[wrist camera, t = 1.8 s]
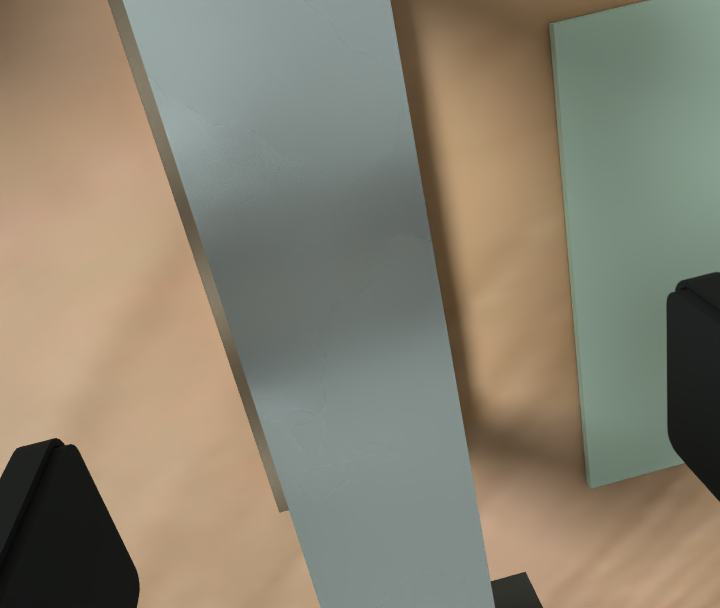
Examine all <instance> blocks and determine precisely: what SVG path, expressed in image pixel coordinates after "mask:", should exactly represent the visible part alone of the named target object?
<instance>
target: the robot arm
mask: <svg viewBox="0 0 720 608" xmlns="http://www.w3.org/2000/svg"><path fill="white" fill-rule="evenodd" d="M666 319H667V431H668V437H669V440H670V443H671V445H672V447H673V449H674V451H675V452H676V453H677V455H678V456H679V457H680V458H681V459H682V460H683V461H684V462H685V464H686V465H687V466H688V467H689V468H690V469H691V470H692V471H693V472H694V474H695V475H696V476H697V477H698V478H699V479H700V480H701V481H702V483H703V484H704V485H705V486H706V487H707V488H708V489H709V490H710V491H711V493H712V494H713V495H714V496H715V497H716V498H717V499H718V500H719V501H720V273H719V272H713V273H709V274H705V275H701V276H697V277H693V278H689V279H685V280H681V281H680V282H679V283H678V284H677V286H676V288H675V292H671V293H670V294H669V295H668V297H667V303H666ZM139 591H140V587H139V577H138V573H137V570H136V568H135V566H134V564H133V562H132V559H131V557H130V555H129V553H128V551H127V549H126V547H125V545H124V543H123V541H122V539H121V537H120V535H119V533H118V531H117V529H116V526H115V524H114V522H113V520H112V518H111V516H110V514H109V512H108V510H107V508H106V506H105V504H104V502H103V500H102V498H101V495H100V493H99V491H98V489H97V487H96V485H95V483H94V481H93V479H92V477H91V475H90V473H89V471H88V469H87V467H86V465H85V462H84V460H83V458H82V456H81V454H80V452H79V451H78V449H77V447H76V446H74V445H72V444H69V445H64V443H63V442H62V441H61V440H60V439H57V438H54V439H50V440H46V441H42V442H38V443H34V444H31V445H27V446H23V447H19V448H17V449H16V450H15V451H14V453H13V454H12V456H11V458H10V460H9V462H8V464H7V466H6V468H5V470H4V472H3V474H2V476H1V478H0V608H137V604H138V598H139Z"/></svg>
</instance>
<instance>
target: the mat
mask: <svg viewBox="0 0 720 608" xmlns="http://www.w3.org/2000/svg"><path fill="white" fill-rule="evenodd" d="M549 31H550V43H551V55H552V67H553V80H554V92H555V104H556V116H557V128H558V140H559V152H560V164H561V177H562V189H563V201H564V213H565V225H566V237H567V249H568V262H569V274H570V286H571V298H572V310H573V322H574V334H575V346H576V359H577V371H578V383H579V395H580V407H581V419H582V431H583V444H584V456H585V468H586V480H587V484H588V486H589V487H590V489H592V488H596V487H600V486H603V485H607V484H611V483H614V482H618V481H621V480H625V479H629V478H632V477H636V476H640V475H643V474H647V473H651V472H654V471H658V470H661V469H665V468H669V467H672V466H676V465H680V464H683V463H685V462H684V461H683V460H682V459H681V458H680V457H679V456H678V455H677V453H676V452H675V451H674V449H673V447H672V445H671V443H670V440H669V437H668V431H667V319H666V303H667V297H668V295H669V294H670V293H671V292H675V288H676V286H677V284H678V283H679V282H680V281H681V280H685V279H689V278H693V277H697V276H701V275H705V274H709V273H713V272H719V273H720V0H646V1H642V2H638V3H634V4H629V5H625V6H621V7H617V8H613V9H608V10H604V11H600V12H596V13H592V14H587V15H583V16H579V17H575V18H571V19H566V20H562V21H558V22H554V23H549Z"/></svg>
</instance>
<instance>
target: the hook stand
mask: <svg viewBox="0 0 720 608" xmlns="http://www.w3.org/2000/svg"><path fill="white" fill-rule="evenodd" d="M108 2H109V5H110V8H111V11H112V14H113V17H114V20H115V23H116V26H117V29H118V32H119V35H120V38H121V41H122V44H123V47H124V50H125V53H126V56H127V59H128V62H129V65H130V68H131V71H132V74H133V77H134V80H135V83H136V86H137V89H138V92H139V95H140V98H141V101H142V104H143V107H144V110H145V113H146V116H147V119H148V122H149V125H150V127H151V130H152V133H153V136H154V139H155V142H156V145H157V148H158V151H159V154H160V157H161V160H162V163H163V166H164V169H165V172H166V175H167V178H168V181H169V184H170V187H171V190H172V193H173V196H174V199H175V202H176V205H177V208H178V211H179V214H180V217H181V220H182V223H183V226H184V229H185V232H186V235H187V238H188V241H189V244H190V247H191V250H192V253H193V256H194V259H195V262H196V265H197V268H198V271H199V274H200V277H201V280H202V283H203V286H204V289H205V292H206V295H207V298H208V301H209V304H210V307H211V310H212V313H213V316H214V319H215V322H216V325H217V328H218V331H219V334H220V337H221V339H222V342H223V345H224V348H225V351H226V354H227V357H228V360H229V363H230V366H231V369H232V372H233V375H234V378H235V381H236V384H237V387H238V390H239V393H240V396H241V399H242V402H243V405H244V408H245V411H246V414H247V417H248V420H249V423H250V426H251V429H252V432H253V435H254V438H255V441H256V444H257V447H258V450H259V453H260V456H261V459H262V462H263V465H264V468H265V471H266V474H267V477H268V480H269V483H270V486H271V489H272V492H273V495H274V498H275V501H276V504H277V507H278V510H279V513H280V512H283V511H287V510H289V508H288V505H287V502H286V499H285V496H284V493H283V490H282V487H281V484H280V481H279V478H278V475H277V472H276V469H275V466H274V462H273V459H272V456H271V453H270V450H269V447H268V444H267V441H266V438H265V435H264V432H263V429H262V426H261V423H260V420H259V416H258V413H257V410H256V407H255V404H254V401H253V398H252V395H251V392H250V389H249V386H248V383H247V380H246V377H245V374H244V371H243V367H242V364H241V361H240V358H239V355H238V352H237V349H236V346H235V343H234V340H233V337H232V334H231V331H230V328H229V325H228V322H227V318H226V315H225V312H224V309H223V306H222V303H221V300H220V297H219V294H218V291H217V288H216V285H215V282H214V279H213V276H212V273H211V269H210V266H209V263H208V260H207V257H206V254H205V251H204V248H203V245H202V242H201V239H200V236H199V233H198V230H197V227H196V223H195V220H194V217H193V214H192V211H191V208H190V205H189V202H188V199H187V196H186V193H185V190H184V187H183V184H182V181H181V178H180V174H179V171H178V168H177V165H176V162H175V159H174V156H173V153H172V150H171V147H170V144H169V141H168V138H167V135H166V132H165V129H164V125H163V122H162V119H161V116H160V113H159V110H158V107H157V104H156V101H155V98H154V95H153V92H152V89H151V86H150V83H149V80H148V76H147V73H146V70H145V67H144V64H143V61H142V58H141V55H140V52H139V49H138V46H137V43H136V40H135V37H134V34H133V31H132V27H131V24H130V21H129V18H128V15H127V12H126V9H125V6H124V3H123V0H108ZM491 587H492V593H493V599H494V604H495V608H543V607H542V605H541V603H540V601H539V599H538V597H537V595H536V592H535V590H534V588H533V586H532V584H531V582H530V580H529V578H528V576H527V574H526V572H523V573H519V574H516V575H512V576H509V577H505V578H502V579H498V580H494V581H491Z"/></svg>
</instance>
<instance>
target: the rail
mask: <svg viewBox="0 0 720 608" xmlns="http://www.w3.org/2000/svg"><path fill="white" fill-rule="evenodd" d="M123 3H124V6H125V9H126V12H127V15H128V18H129V21H130V24H131V27H132V31H133V34H134V37H135V40H136V43H137V46H138V49H139V52H140V55H141V58H142V61H143V64H144V67H145V70H146V73H147V76H148V80H149V83H150V86H151V89H152V92H153V95H154V98H155V101H156V104H157V107H158V110H159V113H160V116H161V119H162V122H163V125H164V129H165V132H166V135H167V138H168V141H169V144H170V147H171V150H172V153H173V156H174V159H175V162H176V165H177V168H178V171H179V174H180V178H181V181H182V184H183V187H184V190H185V193H186V196H187V199H188V202H189V205H190V208H191V211H192V214H193V217H194V220H195V223H196V227H197V230H198V233H199V236H200V239H201V242H202V245H203V248H204V251H205V254H206V257H207V260H208V263H209V266H210V269H211V273H212V276H213V279H214V282H215V285H216V288H217V291H218V294H219V297H220V300H221V303H222V306H223V309H224V312H225V315H226V318H227V322H228V325H229V328H230V331H231V334H232V337H233V340H234V343H235V346H236V349H237V352H238V355H239V358H240V361H241V364H242V367H243V371H244V374H245V377H246V380H247V383H248V386H249V389H250V392H251V395H252V398H253V401H254V404H255V407H256V410H257V413H258V416H259V420H260V423H261V426H262V429H263V432H264V435H265V438H266V441H267V444H268V447H269V450H270V453H271V456H272V459H273V462H274V466H275V469H276V472H277V475H278V478H279V481H280V484H281V487H282V490H283V493H284V496H285V499H286V502H287V505H288V508H289V511H290V515H291V518H292V521H293V524H294V527H295V530H296V533H297V536H298V539H299V542H300V545H301V548H302V551H303V554H304V557H305V560H306V564H307V567H308V570H309V573H310V576H311V579H312V582H313V585H314V588H315V591H316V594H317V597H318V600H319V603H320V606H321V608H495V604H494V599H493V593H492V587H491V581H490V575H489V570H488V564H487V558H486V552H485V546H484V541H483V535H482V529H481V523H480V517H479V512H478V506H477V500H476V494H475V488H474V483H473V477H472V471H471V465H470V459H469V454H468V448H467V442H466V436H465V430H464V425H463V419H462V413H461V407H460V401H459V396H458V390H457V384H456V378H455V372H454V367H453V361H452V355H451V349H450V343H449V338H448V332H447V326H446V320H445V314H444V309H443V303H442V297H441V291H440V286H439V280H438V274H437V268H436V262H435V257H434V251H433V245H432V239H431V233H430V228H429V222H428V216H427V210H426V204H425V199H424V193H423V187H422V181H421V175H420V170H419V164H418V158H417V152H416V146H415V141H414V135H413V129H412V123H411V117H410V112H409V106H408V100H407V94H406V88H405V83H404V77H403V71H402V65H401V59H400V54H399V48H398V42H397V36H396V30H395V25H394V19H393V13H392V7H391V1H390V0H123Z"/></svg>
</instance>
